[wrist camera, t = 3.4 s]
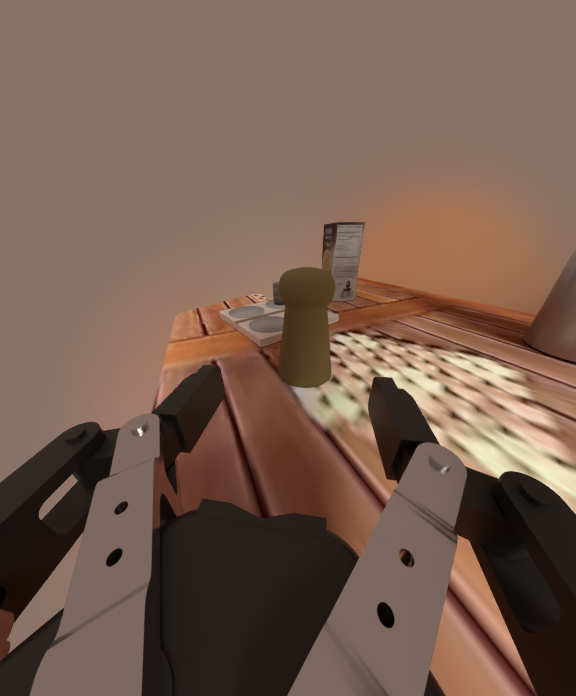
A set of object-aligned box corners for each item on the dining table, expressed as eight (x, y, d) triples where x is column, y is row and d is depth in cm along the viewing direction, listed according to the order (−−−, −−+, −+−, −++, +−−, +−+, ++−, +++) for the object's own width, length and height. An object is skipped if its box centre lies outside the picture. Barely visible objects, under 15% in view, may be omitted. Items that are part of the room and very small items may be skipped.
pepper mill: (268, 367, 24) (260, 268, 19) (307, 352, 27) (310, 263, 22) (299, 395, 20) (301, 276, 15) (342, 373, 23) (356, 268, 18)
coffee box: (319, 292, 56) (322, 224, 48) (341, 291, 57) (349, 223, 49) (329, 302, 48) (335, 221, 40) (355, 300, 49) (366, 221, 41)
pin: (283, 300, 45) (282, 281, 43) (292, 303, 42) (292, 283, 41) (270, 303, 43) (269, 283, 41) (279, 306, 41) (278, 285, 39)
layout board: (285, 302, 48) (285, 296, 48) (338, 321, 37) (339, 313, 36) (219, 317, 40) (218, 310, 39) (261, 347, 29) (260, 338, 28)
